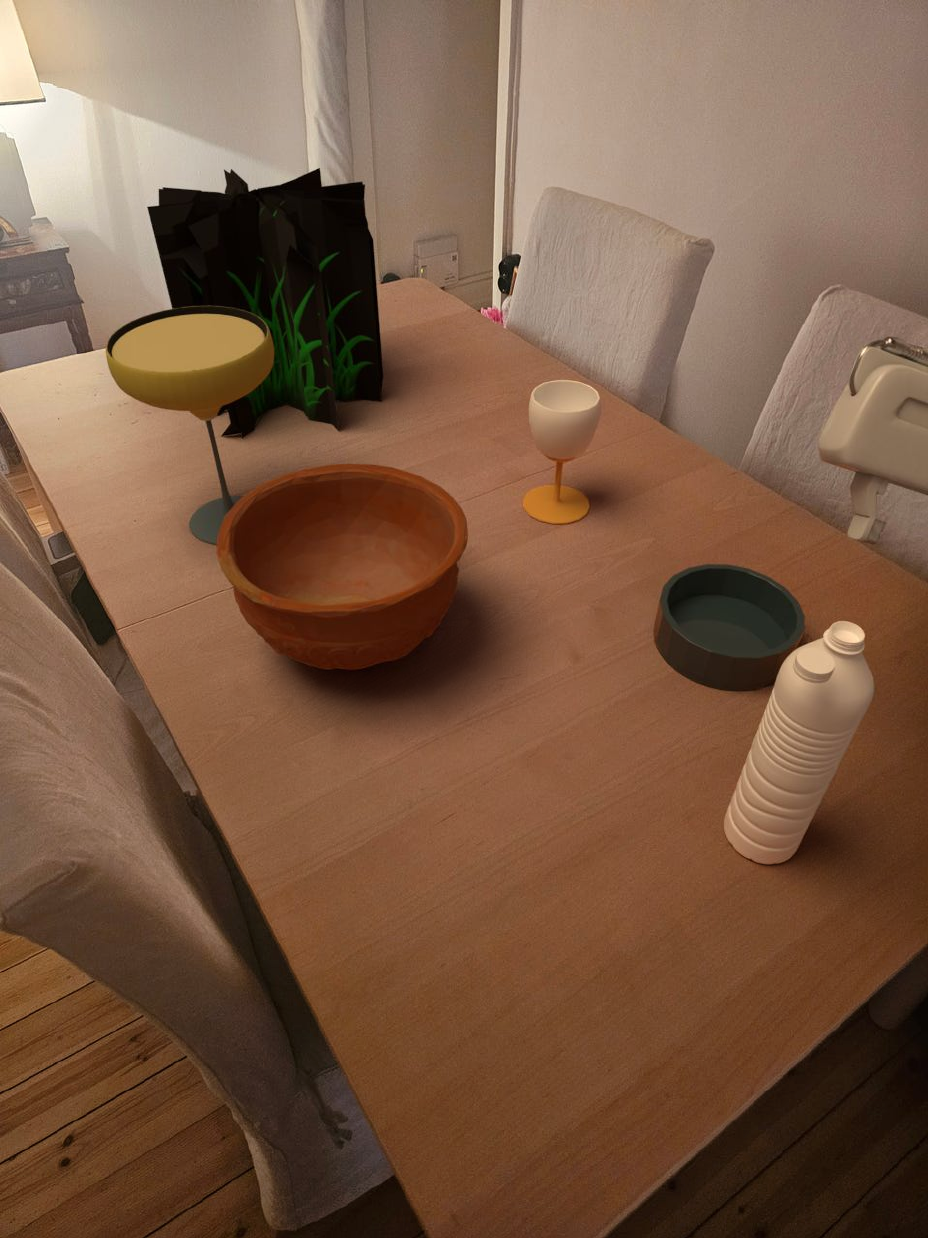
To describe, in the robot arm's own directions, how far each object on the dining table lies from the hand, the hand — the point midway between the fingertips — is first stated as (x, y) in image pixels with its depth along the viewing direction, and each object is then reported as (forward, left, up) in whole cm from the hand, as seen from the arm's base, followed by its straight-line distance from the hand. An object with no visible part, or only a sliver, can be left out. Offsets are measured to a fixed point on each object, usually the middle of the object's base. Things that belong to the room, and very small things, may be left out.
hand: (913, 557), depth 62 cm
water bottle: (+1, +12, -26) cm, 28 cm away
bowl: (+47, +14, -26) cm, 56 cm away
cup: (+43, -21, -26) cm, 55 cm away
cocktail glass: (+75, +8, -26) cm, 80 cm away
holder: (+14, -10, -25) cm, 31 cm away
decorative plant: (+94, -21, -26) cm, 100 cm away
